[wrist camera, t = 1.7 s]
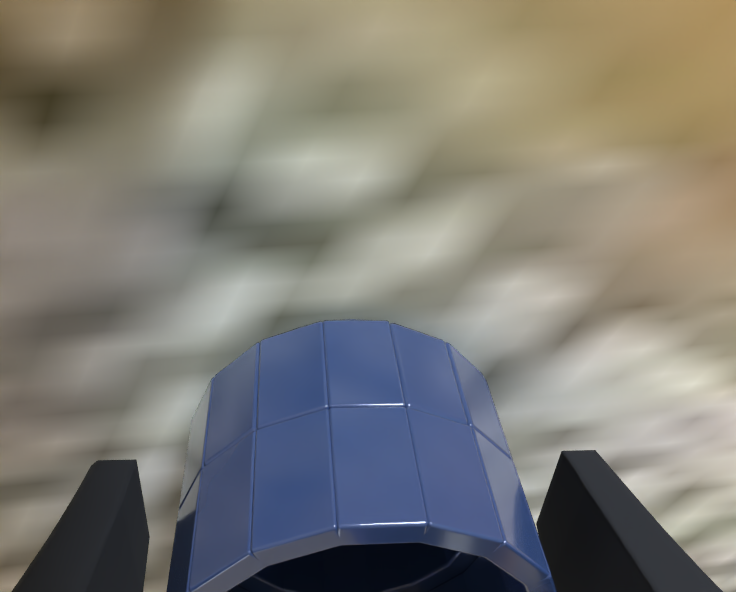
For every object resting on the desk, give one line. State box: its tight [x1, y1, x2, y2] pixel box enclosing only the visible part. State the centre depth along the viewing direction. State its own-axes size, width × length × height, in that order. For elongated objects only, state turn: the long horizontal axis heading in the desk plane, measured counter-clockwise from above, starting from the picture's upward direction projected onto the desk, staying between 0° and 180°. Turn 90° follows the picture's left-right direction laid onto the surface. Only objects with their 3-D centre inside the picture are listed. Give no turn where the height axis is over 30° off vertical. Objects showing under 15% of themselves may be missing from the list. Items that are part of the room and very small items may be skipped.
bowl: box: [167, 319, 557, 592], centre depth 12 cm, size 6×6×4 cm
